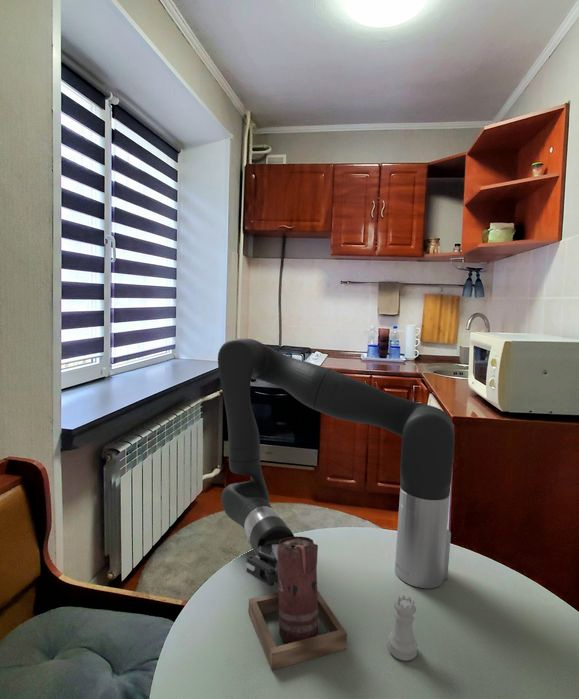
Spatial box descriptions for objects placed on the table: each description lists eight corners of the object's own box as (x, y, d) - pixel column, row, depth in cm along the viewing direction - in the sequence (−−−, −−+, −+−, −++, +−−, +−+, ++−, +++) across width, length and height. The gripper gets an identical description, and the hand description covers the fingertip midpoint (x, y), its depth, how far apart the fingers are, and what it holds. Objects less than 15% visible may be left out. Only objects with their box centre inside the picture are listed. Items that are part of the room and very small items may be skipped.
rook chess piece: (418, 665, 61) (422, 613, 61) (387, 659, 62) (390, 608, 62) (415, 642, 66) (419, 594, 65) (386, 637, 67) (389, 589, 66)
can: (292, 652, 61) (289, 551, 63) (273, 632, 67) (270, 539, 68) (327, 639, 64) (323, 543, 66) (305, 621, 69) (303, 532, 71)
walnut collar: (313, 598, 75) (313, 585, 75) (346, 649, 64) (346, 633, 64) (248, 613, 71) (248, 599, 70) (271, 670, 59) (272, 653, 59)
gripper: (233, 520, 77) (261, 576, 61) (302, 510, 82) (346, 560, 66) (231, 559, 78) (259, 625, 62) (301, 547, 83) (343, 605, 67)
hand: (304, 591), depth 64 cm, fingers closed
